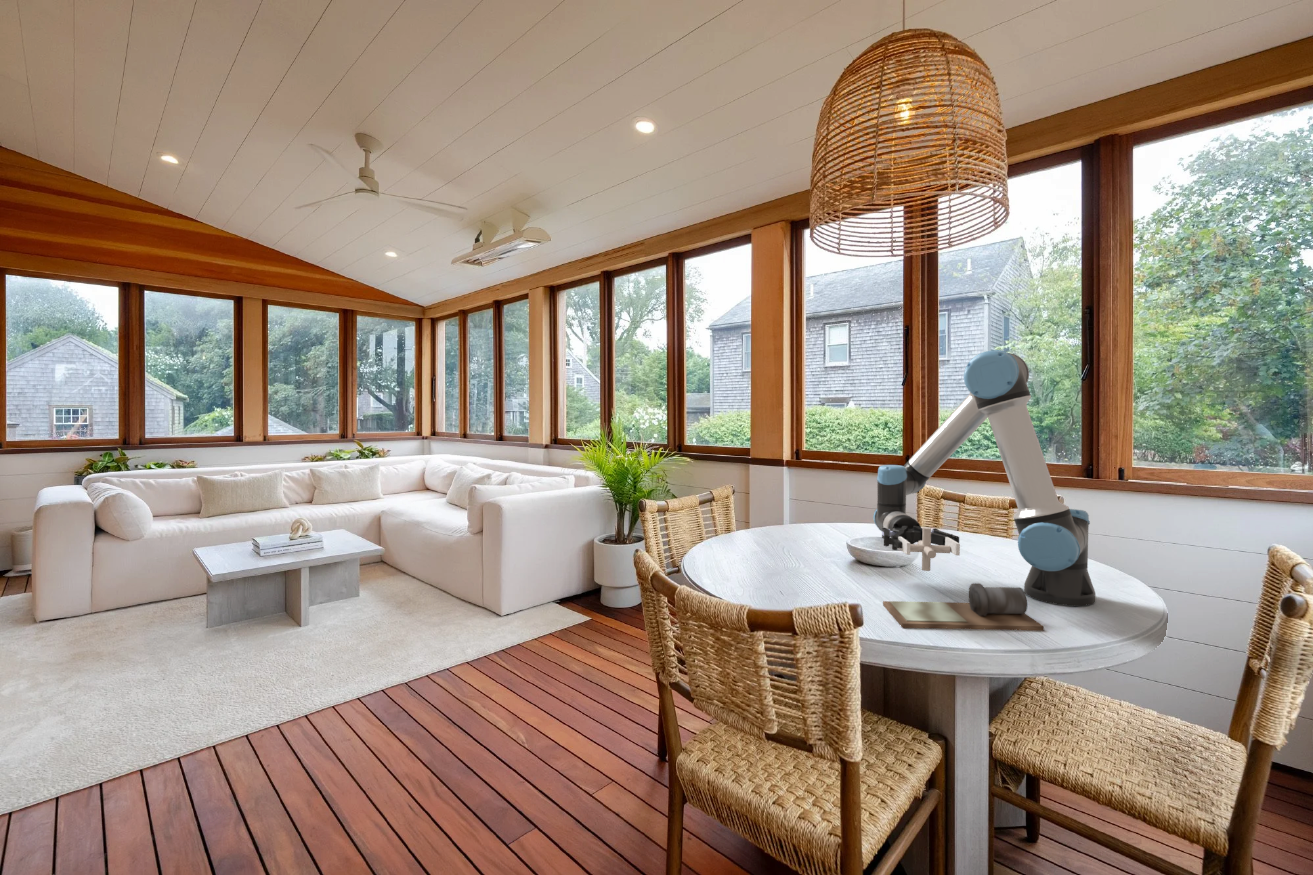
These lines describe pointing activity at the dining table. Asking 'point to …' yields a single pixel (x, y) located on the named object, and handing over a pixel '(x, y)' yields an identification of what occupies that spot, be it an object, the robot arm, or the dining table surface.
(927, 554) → the pipe connector
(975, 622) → the fitting board
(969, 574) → the dining table surface
